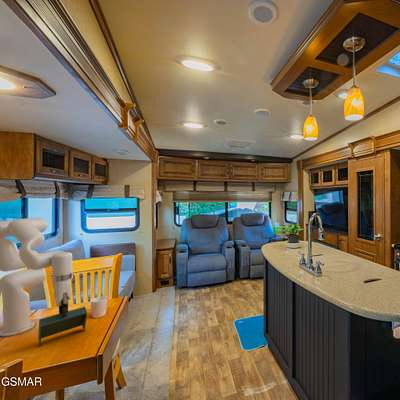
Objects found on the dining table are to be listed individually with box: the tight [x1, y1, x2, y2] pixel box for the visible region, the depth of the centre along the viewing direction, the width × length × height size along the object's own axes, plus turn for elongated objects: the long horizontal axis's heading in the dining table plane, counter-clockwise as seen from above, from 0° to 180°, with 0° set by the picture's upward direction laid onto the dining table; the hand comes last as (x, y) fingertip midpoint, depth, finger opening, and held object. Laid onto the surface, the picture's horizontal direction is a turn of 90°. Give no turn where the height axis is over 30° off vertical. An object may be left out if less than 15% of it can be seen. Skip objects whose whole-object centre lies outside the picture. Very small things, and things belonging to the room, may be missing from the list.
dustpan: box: [37, 306, 88, 347], centre depth 125 cm, size 5×17×18 cm, turn 143°
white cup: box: [90, 295, 108, 319], centre depth 149 cm, size 8×8×10 cm
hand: (63, 312), depth 125 cm, fingers closed
